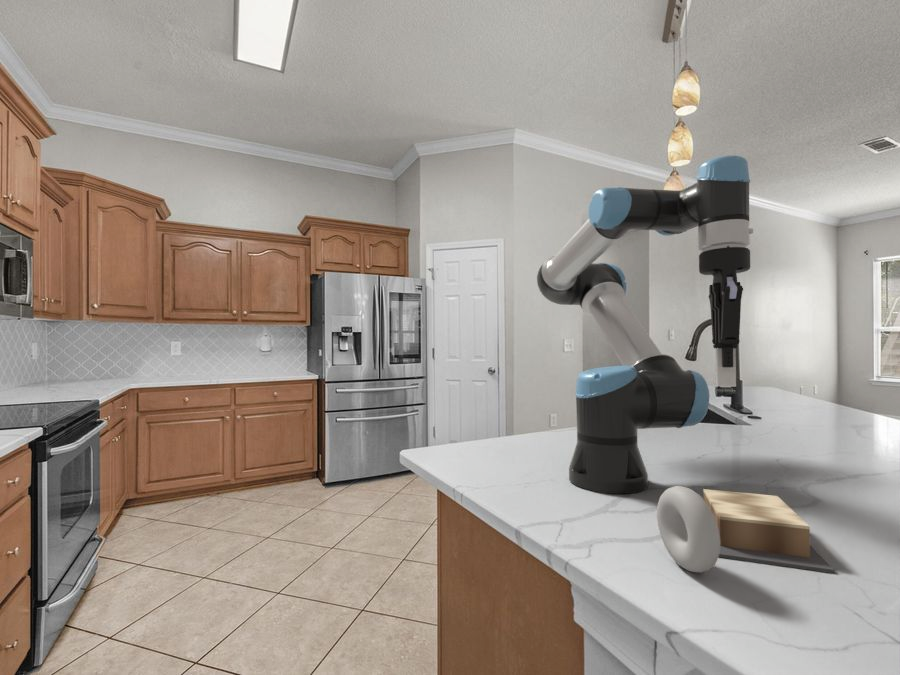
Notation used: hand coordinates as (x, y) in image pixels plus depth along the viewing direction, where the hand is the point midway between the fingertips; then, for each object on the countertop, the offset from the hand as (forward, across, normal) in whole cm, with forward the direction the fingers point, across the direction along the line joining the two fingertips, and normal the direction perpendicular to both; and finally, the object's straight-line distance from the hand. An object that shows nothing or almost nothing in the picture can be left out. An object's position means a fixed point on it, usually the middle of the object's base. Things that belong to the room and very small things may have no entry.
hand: (725, 386), depth 75 cm
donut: (+21, -26, +10) cm, 34 cm away
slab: (+18, -6, 0) cm, 19 cm away
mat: (+21, -14, 0) cm, 25 cm away
